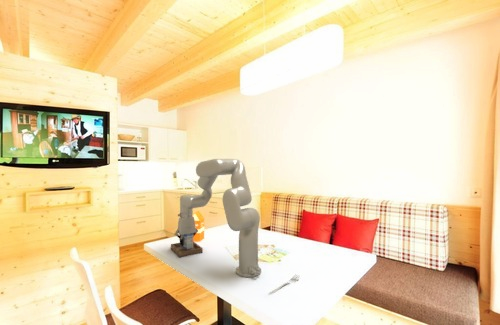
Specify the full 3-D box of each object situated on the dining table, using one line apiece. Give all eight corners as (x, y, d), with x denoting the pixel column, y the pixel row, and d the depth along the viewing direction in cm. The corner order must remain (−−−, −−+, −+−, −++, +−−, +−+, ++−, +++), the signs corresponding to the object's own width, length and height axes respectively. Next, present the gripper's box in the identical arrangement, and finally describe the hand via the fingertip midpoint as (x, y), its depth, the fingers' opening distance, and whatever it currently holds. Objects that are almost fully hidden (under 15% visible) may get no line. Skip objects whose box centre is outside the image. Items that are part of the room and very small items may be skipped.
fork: (260, 296, 103) (260, 292, 103) (295, 277, 120) (295, 273, 120) (266, 299, 101) (266, 295, 101) (300, 279, 118) (300, 276, 118)
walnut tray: (202, 253, 153) (202, 248, 153) (179, 257, 146) (179, 252, 146) (192, 245, 168) (192, 240, 168) (171, 248, 161) (171, 244, 161)
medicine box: (180, 246, 158) (179, 232, 158) (186, 245, 161) (186, 231, 161) (187, 249, 153) (186, 235, 153) (193, 247, 156) (193, 233, 156)
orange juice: (204, 238, 184) (204, 210, 184) (199, 241, 176) (199, 212, 176) (194, 237, 186) (194, 210, 186) (189, 241, 177) (189, 212, 177)
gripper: (174, 217, 149) (174, 248, 149) (201, 214, 159) (201, 243, 158) (170, 215, 156) (171, 245, 155) (197, 212, 165) (197, 240, 165)
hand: (186, 244), depth 157 cm, fingers closed on medicine box, 5 cm apart
